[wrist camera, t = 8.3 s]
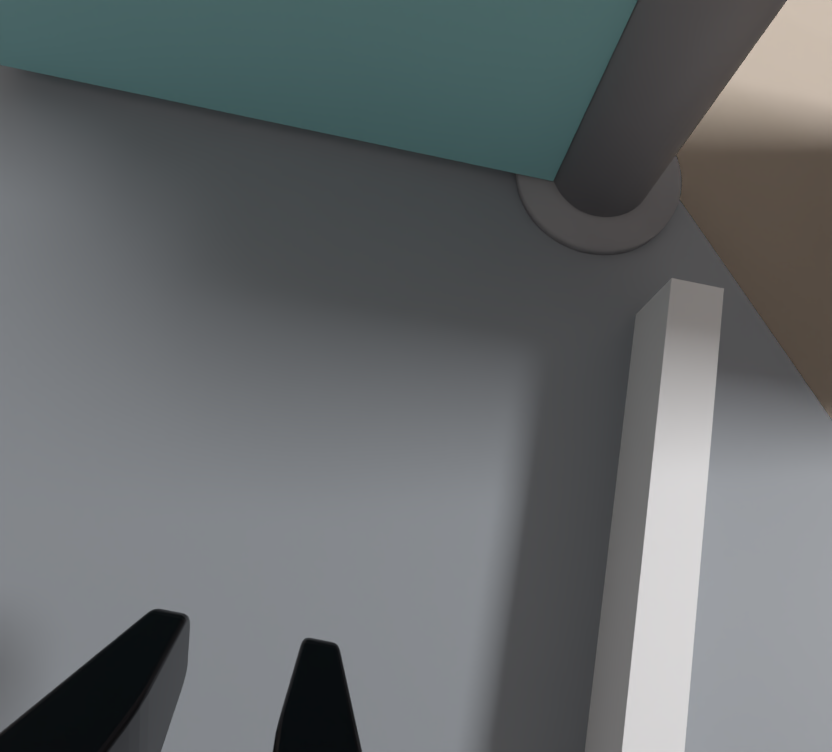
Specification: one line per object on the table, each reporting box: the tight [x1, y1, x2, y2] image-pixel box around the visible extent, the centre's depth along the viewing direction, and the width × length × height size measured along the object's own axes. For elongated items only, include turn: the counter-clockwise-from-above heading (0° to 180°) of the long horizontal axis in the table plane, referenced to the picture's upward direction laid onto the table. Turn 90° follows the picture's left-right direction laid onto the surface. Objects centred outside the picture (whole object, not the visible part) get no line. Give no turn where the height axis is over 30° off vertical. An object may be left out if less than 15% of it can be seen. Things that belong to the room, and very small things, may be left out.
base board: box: [0, 65, 832, 752], centre depth 15 cm, size 19×24×3 cm
